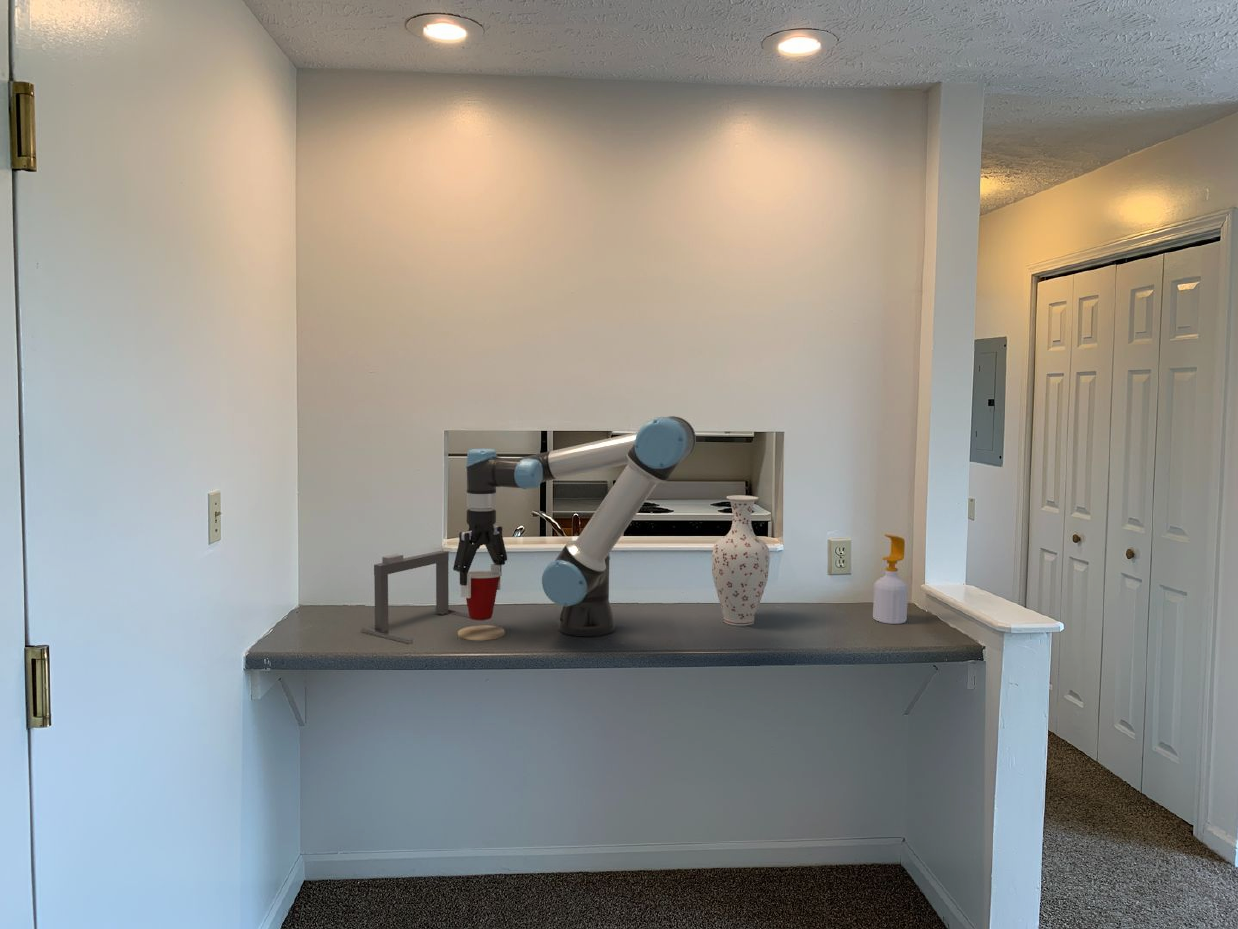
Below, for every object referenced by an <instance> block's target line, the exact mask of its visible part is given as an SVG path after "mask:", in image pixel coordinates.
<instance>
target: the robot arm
mask: <svg viewBox="0 0 1238 929" xmlns="http://www.w3.org/2000/svg"><path fill="white" fill-rule="evenodd" d="M696 436H697V435H696V432H695V429H694V427H693V426H692V424H690V423H689V422H688V420H686V419H684V418H682V417H680V416H675V415H673V416H671V415H669V416H660V417H655V418H652V419H650V420H648V421H646V423H644V424H643V425H642V426H641V427H640V428H639V429H638V431H635V432H631V433H627V434H622V435H618V436H614V437H610V438H604V439H599V440H596V441H591V442H587V443H583V444H578V445H577V444H576V445H573V446H569V447H564V448H559V449H556V450H551V451H546V452H541V453H540V452H539V453H536V454H532V455H528V456H527V455H526V456H522V457H515V458H514V457H510V458H509V457H499V456H498V455H497V451H496V450H495V449H494V448H472V449H469V450H468V452H467V456H466V466H465V467H466V508H467V510H466V524H467V525H468V530H467V531H459V535H458V536H459V540H458V541H459V542H458V546H457V549H456V555H455V559H454V563H453V567H452V569H453V571H455V572H458V573H459V585H460V597H461V598H465V599H466V598H471V573H470V572H468V571H470V568H471V566H472V563H473V561H474V559H475V556H476V554H477V551H478V550H479V549H480V547H481V546H483V545H484V547H485V548H486V550H487V552H488V554H489V556H490V559H491V562H492V563H491V564H490V571H495V572H500V573H502V567H503V566H504V565H505V564H506V562H507V561H508V555H507V551H506V550H507V549H506V546H505V542H504V541H505V540H504V537H503V526H500V525H495V524H496V523H497V510H496V509H495V508H497V488H509V489H510V488H513V489H523V490H528V489H532V490H533V489H537V488H539V487H540V484H542V483H544V482H548V481H554V480H557V479H561V478H566V477H571V476H577V475H581V474H586V473H590V472H595V471H600V470H606V469H611V468H615V467H619V466H625V465H626V466H625V467H624V469H623V470H622V472H621V474H620V475H619V477H618V478H617V480H616V481H615V483H614V484H613V485H612V487H611V488H610V490H609V491H608V493H607V494H606V495H605V497H604V499H603V500H602V502H601V503H600V505H599V506H598V508H597V509H596V511H595V512H594V513H593V515H592V516H591V518H590V519H589V521H588V522H587V524H586V525H585V526H584V528H583V530H582V531H581V533H580V534H579V535H578V537H577V538H576V540H570V541H568V542H567V543H566V544H565V545H564V547H563V548H562V550H561V551H560V552H559V553H558V556H557V557H556V559H555V560H554V561H551V562H550V563H549V564H548V565H547V566H546V567H545V569H544V571H543V573H542V576H541V585H542V589H543V592H544V594H545V596H546V597H547V598H548V599H549V600H550V601H551V602H552V603H553V604H556V605H558V606H562V609H561V613H560V616H559V619H558V631H560V632H561V633H563V634H566V635H569V636H575V637H599V636H605V635H608V634H611V633H613V632H614V631H615V629H616V620H615V617H614V614H613V611H612V610H613V609H612V607H611V606H612V605H611V603H610V597H609V596H610V595H609V594H610V559H611V556H610V553H611V551H612V550H613V549H614V547H615V545H616V544H617V543H618V541H619V540H620V538H621V537H622V536H623V534H624V533H625V531H626V530H627V528H629V525H630V524H631V522H632V521H633V520H634V518H635V517H636V515H637V514H638V512H640V510H641V508H642V506H644V503H645V502H646V500H647V499H648V498H649V497H650V495H651V494H652V492H653V490H654V489H655V488H656V487H657V485H658V484H660V483H666V482H667V481H668V480H669V479H670V477H671V475H673V472H675V470H676V469H677V467H678V466H679V464H680V463H681V462H683V461H684V460H687V459H688V458H689V457H690V456H691V455H692V453H693V452H694V450H695V447H696V443H697V437H696ZM500 590H501V578H500V579H499V583H498V587H497V591H500Z"/></svg>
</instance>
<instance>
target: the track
mask: <svg viewBox="0 0 1238 929" xmlns="http://www.w3.org/2000/svg"><path fill="white" fill-rule="evenodd" d="M448 614H451V615H457V616H461V617H466V618H469V619H470V616H469V611H464V610H459V609H456V608H455V609H454V608H450V607H449V613H448ZM360 632H361V633H364V634H368V635H372V636H378V637H380V638H384V639H388V640H392V641H397V642H401V643H405V644H408V645H411V644H413V643H414V638H411V637H407V636H403V635H399V634H395V633H392V632H391V633H390V632H388V631H385V632H383V631H379V630H375V628H370V627H365V626H363V627H361V628H360Z"/></svg>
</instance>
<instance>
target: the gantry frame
mask: <svg viewBox="0 0 1238 929" xmlns="http://www.w3.org/2000/svg"><path fill="white" fill-rule="evenodd" d="M449 552H450V551H448V550H438V551H432V552H428V553H423V554H418V555H415V556H414V555H413V556H409V557H404V555H403V554H399V553H396V554H391V555H390V554H389V555H385V556H382V557H381V558H382V562H380V563H376V564H375V563H374V565H373V575H374V576H373V577H374V579H373V580H374V629H375V630H379V631H383V632H388V631H389V575H390V574H391V575H392V574H395V573H400V572H404V571H409V570H413V569H417V568H418V569H419V568H421V567H422V568H423V567H427V566H430V565H435V587H436V588H435V599H436V600H435V604H436V606H435V611H436V613H435V614H437V615H438V614H439V615H442V616H443V615H446V614H450V613H449V608H450V606H449V604H450V603H449V602H450V600H449V597H450V596H449V591H450V590H449V561H450V560H449V559H450V558H449V557H450V556H449Z"/></svg>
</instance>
